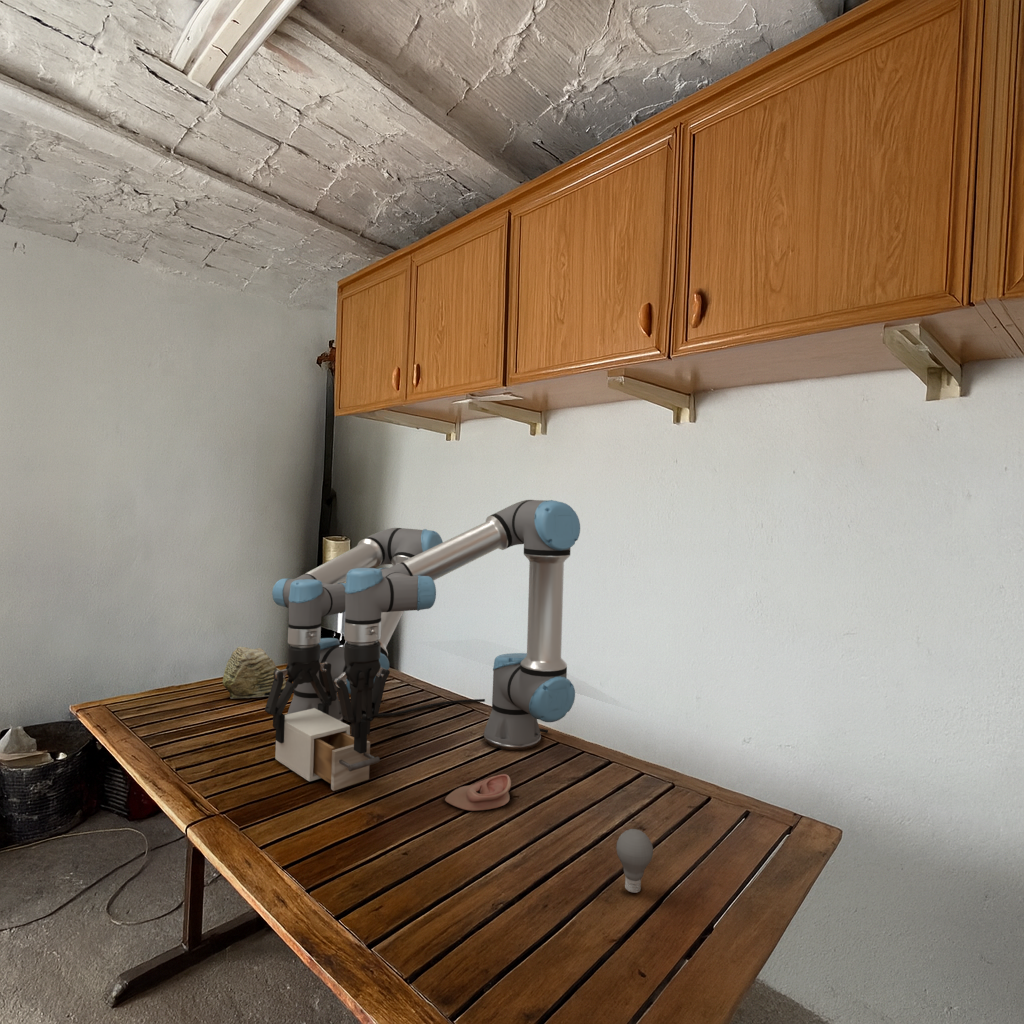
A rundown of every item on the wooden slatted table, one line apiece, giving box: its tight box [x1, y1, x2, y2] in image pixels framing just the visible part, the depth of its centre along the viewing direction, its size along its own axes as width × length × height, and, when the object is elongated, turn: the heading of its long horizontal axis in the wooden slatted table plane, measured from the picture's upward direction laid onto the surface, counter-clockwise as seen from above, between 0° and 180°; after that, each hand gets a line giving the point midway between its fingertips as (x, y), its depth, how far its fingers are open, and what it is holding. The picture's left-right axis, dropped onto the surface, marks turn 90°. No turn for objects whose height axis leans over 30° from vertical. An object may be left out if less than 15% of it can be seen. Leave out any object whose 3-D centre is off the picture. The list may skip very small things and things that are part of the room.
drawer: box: [313, 732, 381, 792], centre depth 140 cm, size 21×9×8 cm, turn 46°
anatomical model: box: [444, 773, 512, 812], centre depth 136 cm, size 13×4×12 cm
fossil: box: [222, 646, 287, 699], centre depth 198 cm, size 9×18×15 cm, turn 132°
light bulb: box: [615, 828, 654, 894], centre depth 106 cm, size 6×6×10 cm
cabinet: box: [274, 708, 351, 783], centre depth 149 cm, size 17×10×10 cm, turn 46°
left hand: (300, 735), depth 153 cm, fingers closed on cabinet, 10 cm apart
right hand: (360, 750), depth 135 cm, fingers closed
